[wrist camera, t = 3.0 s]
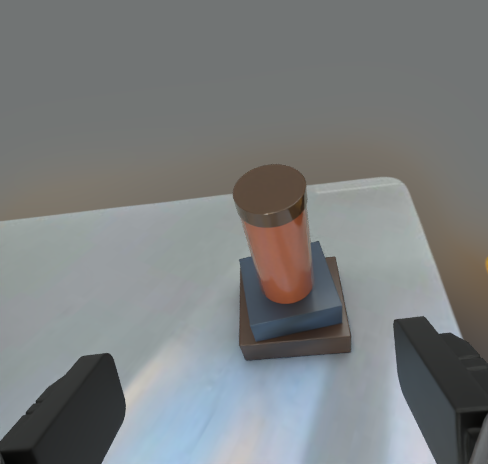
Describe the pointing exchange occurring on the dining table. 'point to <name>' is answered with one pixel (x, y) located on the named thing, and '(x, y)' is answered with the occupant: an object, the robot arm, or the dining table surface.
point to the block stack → (294, 315)
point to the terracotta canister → (277, 230)
